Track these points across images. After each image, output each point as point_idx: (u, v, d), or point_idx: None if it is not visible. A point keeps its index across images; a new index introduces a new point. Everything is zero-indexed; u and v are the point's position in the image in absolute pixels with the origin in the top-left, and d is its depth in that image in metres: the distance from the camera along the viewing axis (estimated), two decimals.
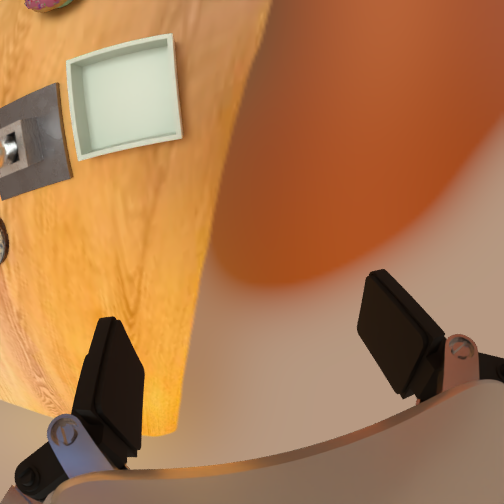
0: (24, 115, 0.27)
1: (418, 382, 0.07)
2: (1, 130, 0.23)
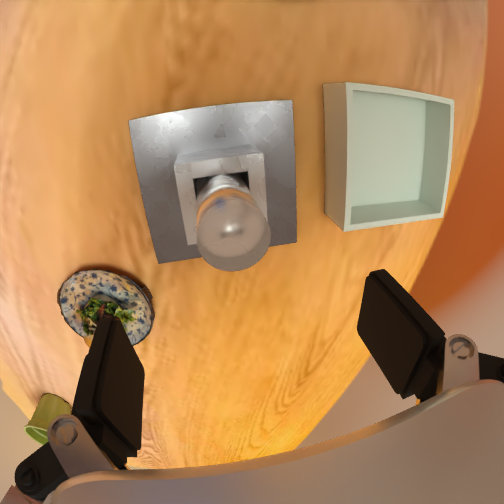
0: (226, 136, 0.23)
1: (418, 382, 0.07)
2: (213, 162, 0.20)
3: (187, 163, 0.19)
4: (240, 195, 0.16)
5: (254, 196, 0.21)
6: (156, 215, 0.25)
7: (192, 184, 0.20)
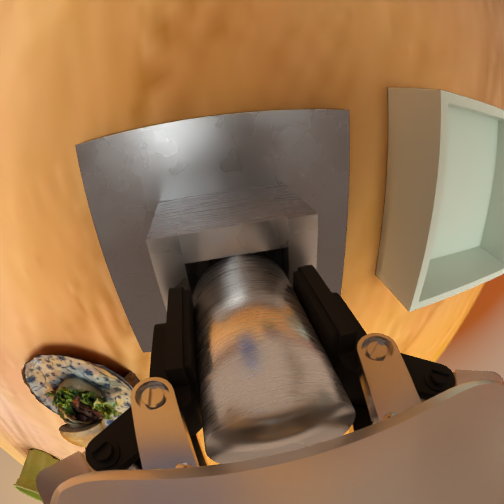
0: (241, 170, 0.14)
1: None
2: (224, 234, 0.10)
3: (172, 236, 0.10)
4: (295, 348, 0.07)
5: None
6: (132, 293, 0.16)
7: (184, 273, 0.11)
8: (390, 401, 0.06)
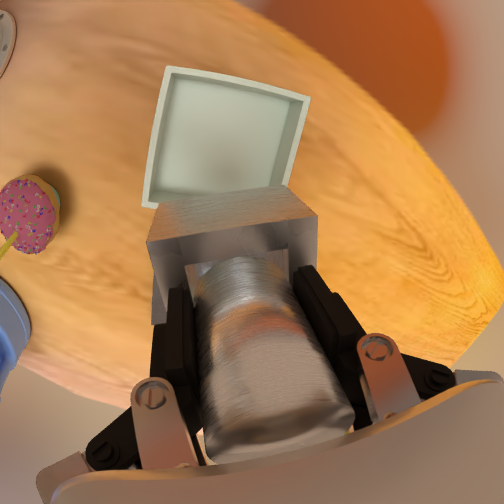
0: None
1: None
2: (224, 236, 0.10)
3: (172, 238, 0.10)
4: (295, 350, 0.07)
5: None
6: None
7: (184, 275, 0.11)
8: (390, 401, 0.06)
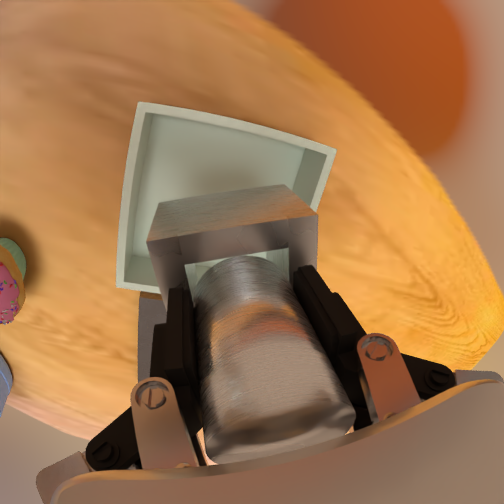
0: None
1: None
2: (224, 235, 0.10)
3: (172, 237, 0.10)
4: (296, 350, 0.07)
5: None
6: None
7: (184, 274, 0.11)
8: (390, 401, 0.06)
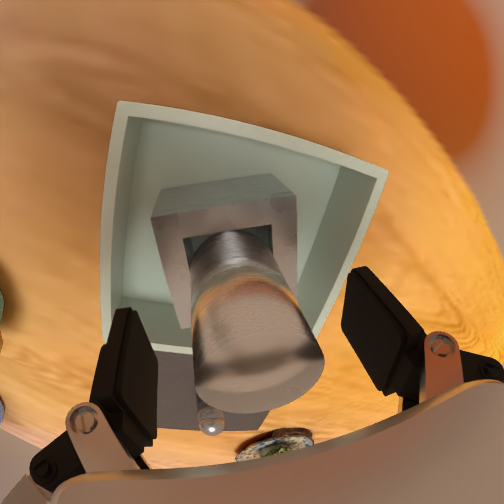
0: (166, 390, 0.23)
1: (398, 379, 0.08)
2: (216, 212, 0.12)
3: (172, 214, 0.12)
4: (270, 296, 0.09)
5: (280, 261, 0.14)
6: None
7: (182, 247, 0.13)
8: None
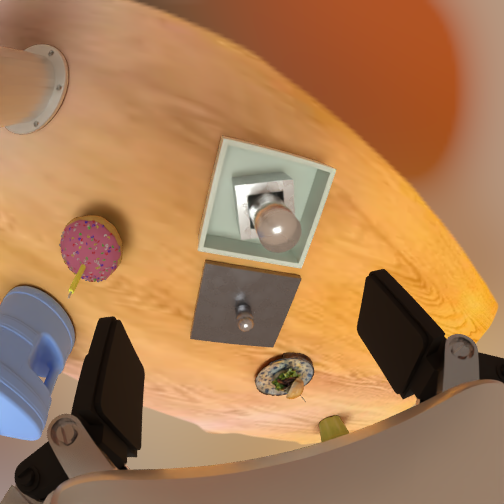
0: (217, 301, 0.42)
1: (418, 382, 0.07)
2: (261, 185, 0.31)
3: (244, 185, 0.30)
4: (283, 207, 0.27)
5: (287, 207, 0.32)
6: (246, 340, 0.46)
7: (246, 199, 0.31)
8: None
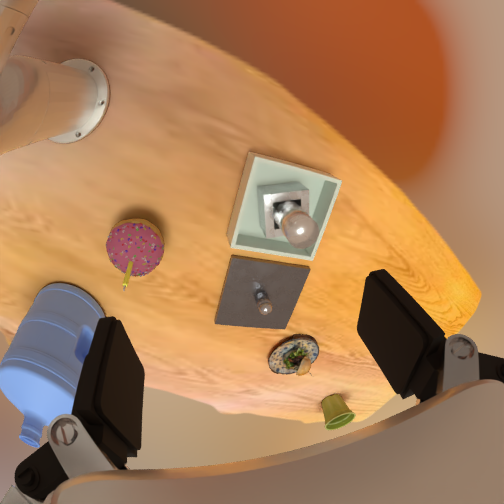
0: (240, 290, 0.49)
1: (418, 382, 0.07)
2: (284, 194, 0.38)
3: (270, 194, 0.38)
4: (304, 213, 0.35)
5: None
6: (262, 324, 0.54)
7: (272, 205, 0.39)
8: None
